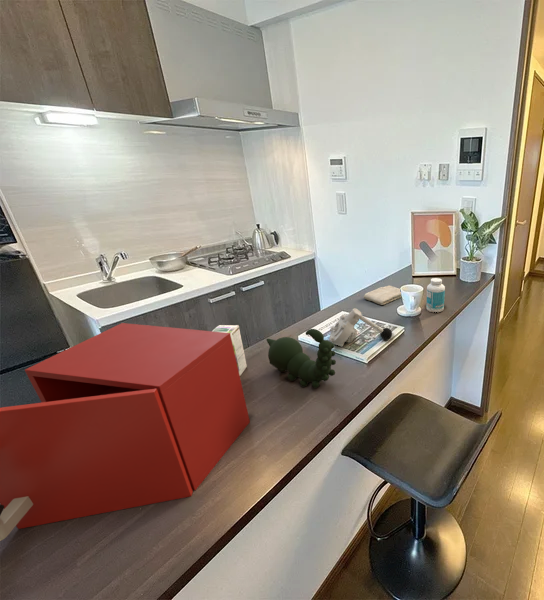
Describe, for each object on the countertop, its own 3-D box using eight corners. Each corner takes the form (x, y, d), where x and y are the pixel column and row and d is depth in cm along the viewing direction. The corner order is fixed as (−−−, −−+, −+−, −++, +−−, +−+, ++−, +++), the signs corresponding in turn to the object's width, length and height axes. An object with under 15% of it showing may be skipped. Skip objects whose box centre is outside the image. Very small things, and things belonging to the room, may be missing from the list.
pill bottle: (446, 308, 140) (448, 278, 135) (440, 314, 134) (442, 283, 129) (429, 304, 143) (431, 275, 138) (423, 311, 137) (424, 281, 132)
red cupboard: (195, 490, 62) (159, 386, 52) (77, 470, 65) (24, 369, 56) (250, 422, 78) (230, 332, 68) (153, 409, 82) (122, 322, 72)
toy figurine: (342, 385, 94) (281, 354, 104) (342, 329, 85) (276, 301, 96) (319, 405, 86) (256, 369, 97) (317, 345, 78) (248, 313, 89)
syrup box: (219, 378, 94) (208, 333, 88) (229, 366, 99) (219, 323, 93) (239, 378, 94) (229, 333, 88) (247, 366, 99) (239, 324, 94)
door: (179, 529, 55) (134, 419, 46) (-15, 569, 50) (-111, 453, 40) (193, 491, 61) (156, 388, 52) (22, 523, 56) (-53, 413, 46)
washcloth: (408, 295, 153) (408, 289, 152) (382, 307, 141) (382, 300, 139) (389, 289, 160) (389, 283, 159) (363, 299, 147) (362, 293, 146)
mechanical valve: (327, 329, 115) (353, 299, 112) (366, 352, 123) (392, 324, 119) (326, 345, 106) (355, 313, 103) (368, 369, 114) (396, 340, 110)
